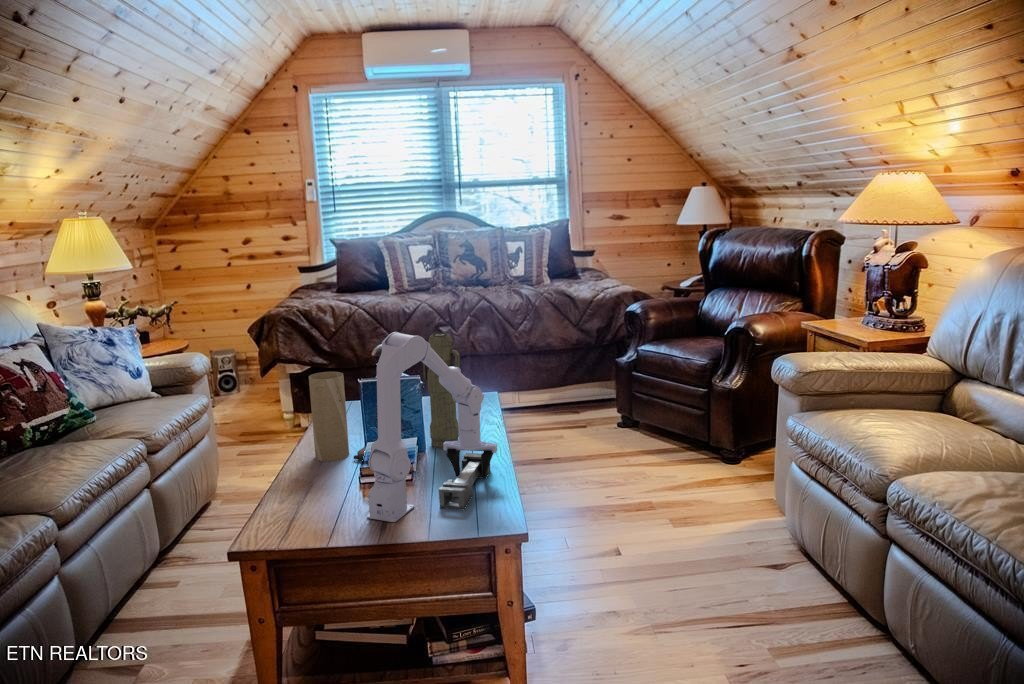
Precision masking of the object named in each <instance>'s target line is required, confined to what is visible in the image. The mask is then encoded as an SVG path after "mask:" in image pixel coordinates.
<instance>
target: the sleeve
mask: <svg viewBox="0 0 1024 684" xmlns="http://www.w3.org/2000/svg"><path fill="white" fill-rule="evenodd" d="M452 487H460V488H452ZM452 492H454V493H458V494H459V497H452ZM473 494H474V493H473V484H472V481H469V480H467V482H466V483H454V479H450V478H449V479H448V480H447V481H444V482H443V484H442V486H440V487H439V488H438V499H439V509H445V510H446V509H447V510H457V509H464V510H465V509H466V508H465V507H467V506H468V505H469V503H470V502H469V501H471V500H472V499H471V497H472V496H473ZM472 498H473V497H472ZM470 499H471V500H470ZM468 502H469V503H468ZM467 504H468V505H467ZM466 505H467V506H466Z"/></svg>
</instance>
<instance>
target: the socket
mask: <svg viewBox="0 0 1024 684" xmlns="http://www.w3.org/2000/svg"><path fill="white" fill-rule="evenodd" d="M481 455H482V453H474V452H466V453H465V454H464V455H463V459H462V460H461V472H462V471H463V470H464V468H465V467H466V466H467V464H468V463H469V462H470V461H471V460H482V458H481ZM481 463H482V462H481ZM489 472H490V473H491V463H490V464H489V468H488V473H487V475H488V474H490V473H489ZM488 476H489V475H488ZM478 477H483V465H482V471H481V473H480V474H479V476H478Z"/></svg>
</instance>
